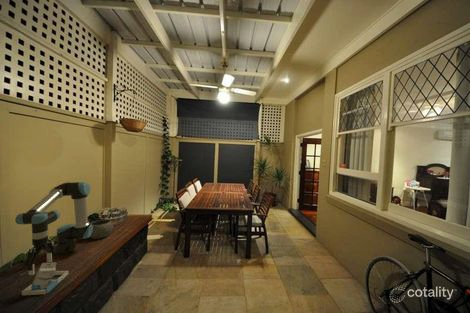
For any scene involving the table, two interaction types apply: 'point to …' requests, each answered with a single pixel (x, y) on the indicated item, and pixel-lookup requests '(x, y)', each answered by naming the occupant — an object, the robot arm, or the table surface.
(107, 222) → the bowl
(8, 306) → the table surface
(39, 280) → the ink box
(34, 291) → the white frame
